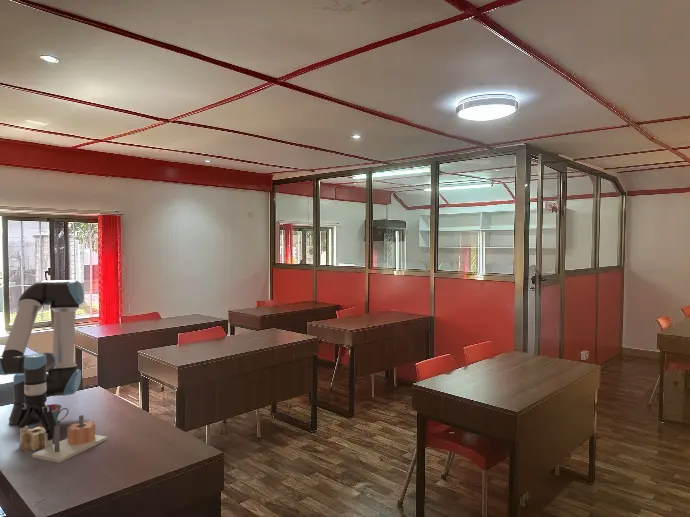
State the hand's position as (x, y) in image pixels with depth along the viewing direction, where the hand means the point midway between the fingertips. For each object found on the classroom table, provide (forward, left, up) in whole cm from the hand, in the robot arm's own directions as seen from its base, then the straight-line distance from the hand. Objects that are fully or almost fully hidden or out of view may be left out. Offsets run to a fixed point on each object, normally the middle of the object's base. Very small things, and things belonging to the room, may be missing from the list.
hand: (36, 445), depth 186 cm
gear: (0, 0, 0) cm, 0 cm away
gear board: (+15, +3, 0) cm, 15 cm away
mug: (-7, +13, 0) cm, 15 cm away
